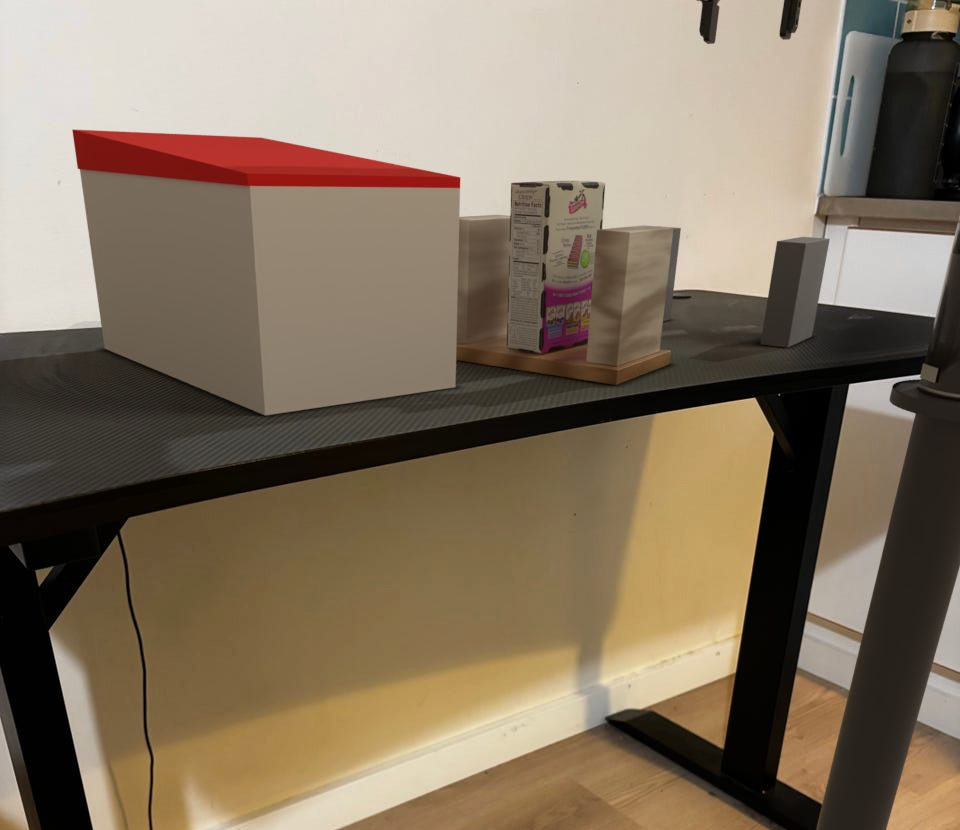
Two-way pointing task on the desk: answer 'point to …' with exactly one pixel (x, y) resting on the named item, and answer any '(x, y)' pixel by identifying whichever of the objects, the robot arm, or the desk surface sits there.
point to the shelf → (613, 316)
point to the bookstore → (272, 267)
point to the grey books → (780, 288)
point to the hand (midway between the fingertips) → (746, 40)
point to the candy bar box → (552, 263)
